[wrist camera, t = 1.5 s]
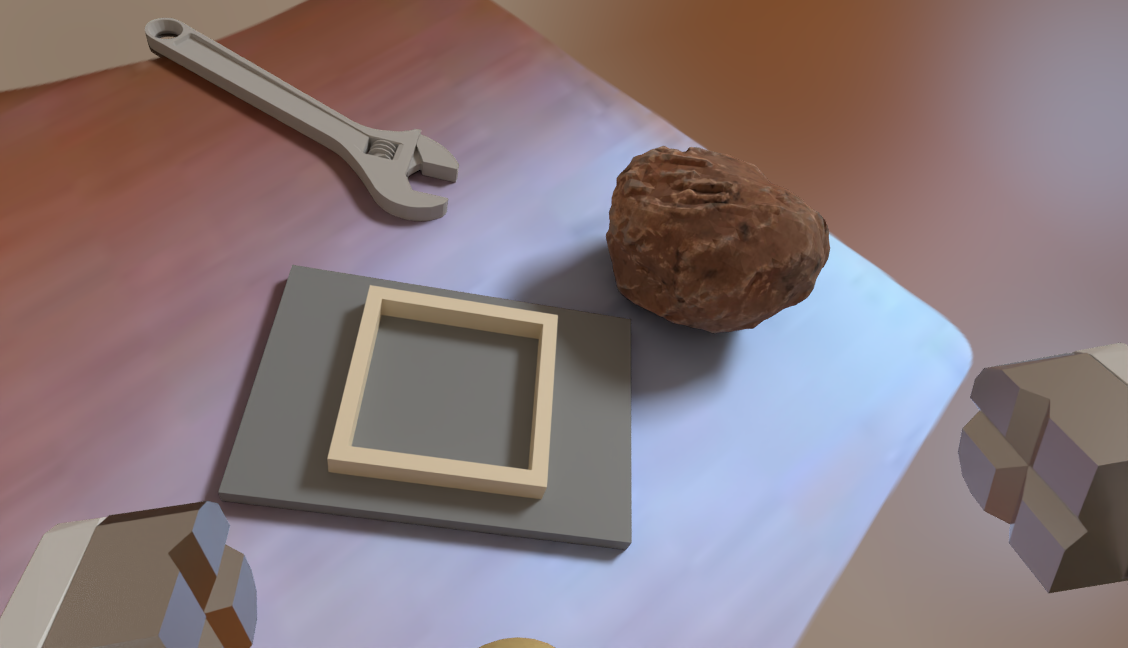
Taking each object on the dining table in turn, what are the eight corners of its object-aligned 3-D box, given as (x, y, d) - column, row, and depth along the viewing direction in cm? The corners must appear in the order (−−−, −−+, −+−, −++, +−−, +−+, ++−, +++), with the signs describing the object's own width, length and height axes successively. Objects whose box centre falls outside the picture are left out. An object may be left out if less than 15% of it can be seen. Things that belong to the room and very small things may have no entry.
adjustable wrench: (138, 48, 56) (133, 25, 54) (213, 13, 59) (209, -9, 58) (417, 236, 51) (419, 217, 49) (479, 185, 54) (482, 166, 53)
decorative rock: (807, 299, 54) (884, 195, 46) (727, 404, 47) (800, 304, 40) (650, 192, 57) (697, 77, 49) (555, 277, 50) (591, 161, 43)
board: (221, 500, 38) (213, 478, 36) (293, 275, 46) (290, 247, 45) (626, 549, 41) (639, 531, 39) (626, 328, 49) (637, 304, 47)
